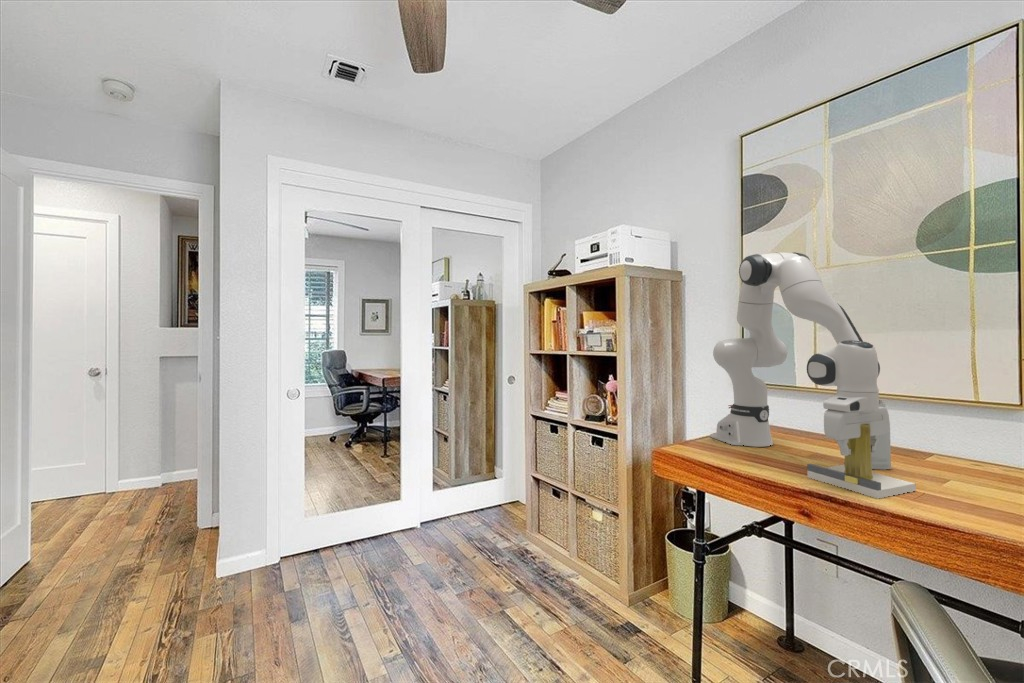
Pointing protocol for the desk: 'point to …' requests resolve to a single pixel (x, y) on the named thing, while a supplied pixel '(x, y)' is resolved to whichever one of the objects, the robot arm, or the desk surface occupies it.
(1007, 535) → the desk surface
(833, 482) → the shelf board
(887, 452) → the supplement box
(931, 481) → the desk surface
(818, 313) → the robot arm
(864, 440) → the vase
